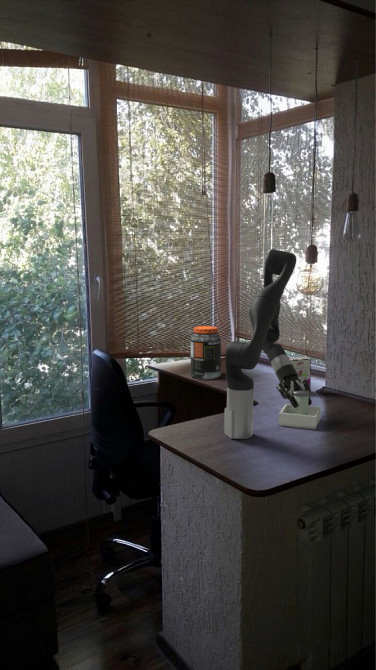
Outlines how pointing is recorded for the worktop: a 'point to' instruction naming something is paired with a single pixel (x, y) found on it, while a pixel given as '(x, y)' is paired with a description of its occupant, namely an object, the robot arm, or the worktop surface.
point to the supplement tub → (205, 353)
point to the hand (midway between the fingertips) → (303, 405)
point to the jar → (301, 402)
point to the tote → (299, 417)
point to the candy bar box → (302, 368)
